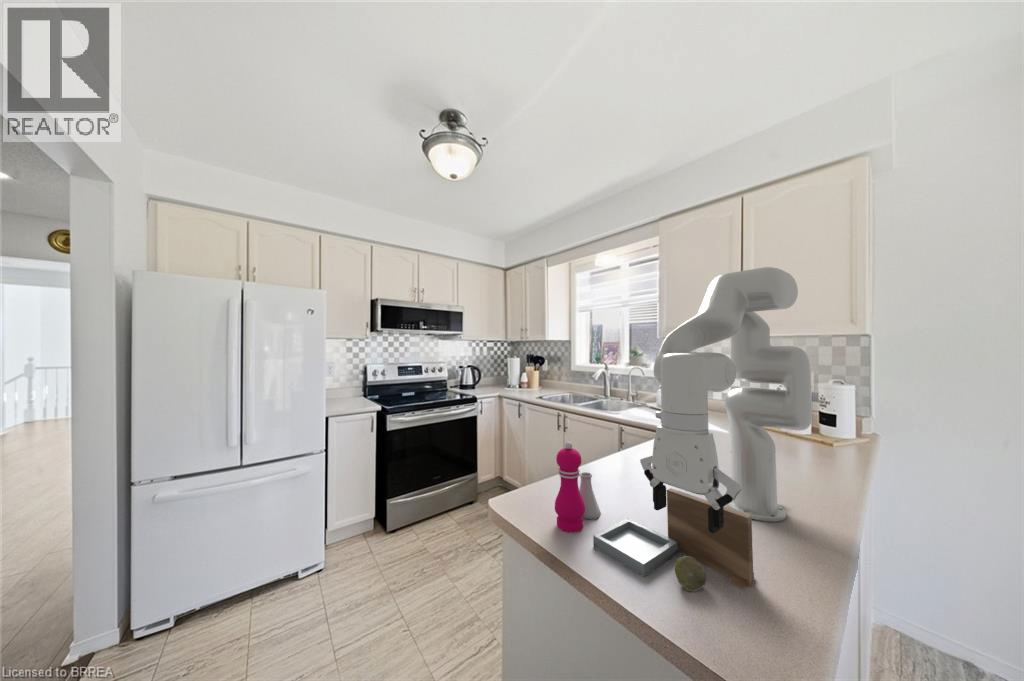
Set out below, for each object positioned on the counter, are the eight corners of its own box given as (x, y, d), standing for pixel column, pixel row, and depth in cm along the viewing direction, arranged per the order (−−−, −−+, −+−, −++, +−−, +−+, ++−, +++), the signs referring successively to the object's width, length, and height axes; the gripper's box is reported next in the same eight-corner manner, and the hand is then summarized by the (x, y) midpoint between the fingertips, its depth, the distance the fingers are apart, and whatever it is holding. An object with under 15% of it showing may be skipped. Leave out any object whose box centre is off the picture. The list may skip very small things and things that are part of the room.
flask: (601, 521, 82) (601, 480, 82) (572, 518, 83) (571, 478, 83) (600, 507, 89) (599, 470, 89) (572, 505, 90) (571, 468, 90)
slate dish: (627, 528, 78) (627, 518, 78) (678, 553, 68) (677, 541, 68) (593, 546, 71) (593, 535, 71) (643, 577, 61) (643, 564, 61)
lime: (709, 588, 59) (708, 559, 59) (694, 599, 56) (693, 569, 56) (684, 574, 62) (683, 546, 62) (669, 584, 60) (668, 555, 60)
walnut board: (676, 541, 73) (675, 486, 73) (757, 579, 60) (755, 512, 61) (663, 549, 70) (662, 491, 70) (746, 591, 58) (743, 521, 58)
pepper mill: (578, 537, 75) (577, 448, 75) (549, 528, 79) (548, 443, 79) (589, 523, 81) (588, 440, 81) (562, 515, 85) (560, 436, 85)
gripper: (629, 416, 65) (630, 506, 64) (728, 433, 51) (730, 548, 50) (651, 412, 69) (653, 496, 68) (748, 427, 55) (750, 533, 54)
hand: (685, 518), depth 59 cm, fingers open, 9 cm apart
